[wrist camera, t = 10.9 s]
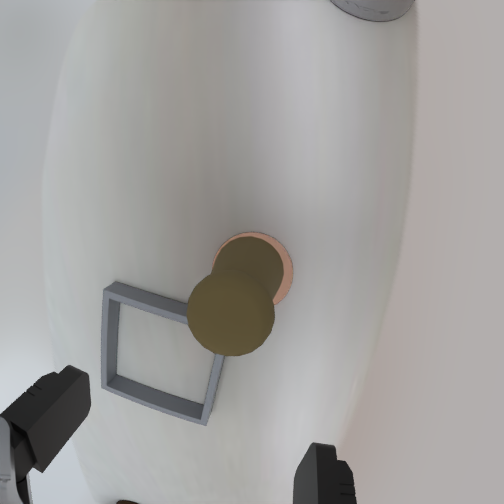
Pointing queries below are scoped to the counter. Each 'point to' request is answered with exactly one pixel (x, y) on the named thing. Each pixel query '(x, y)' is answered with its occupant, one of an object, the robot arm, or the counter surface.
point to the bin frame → (133, 389)
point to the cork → (237, 298)
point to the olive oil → (125, 502)
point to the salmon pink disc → (284, 256)
